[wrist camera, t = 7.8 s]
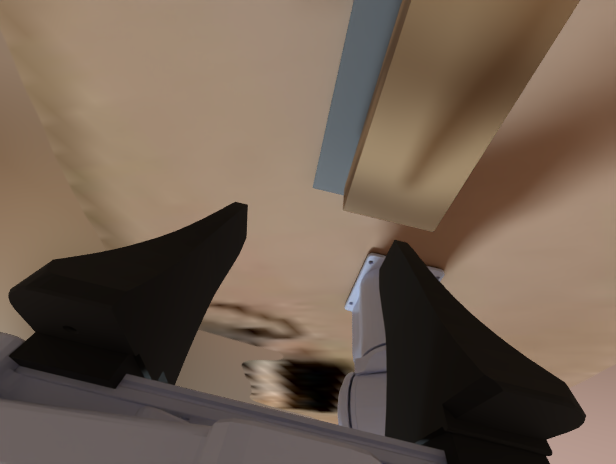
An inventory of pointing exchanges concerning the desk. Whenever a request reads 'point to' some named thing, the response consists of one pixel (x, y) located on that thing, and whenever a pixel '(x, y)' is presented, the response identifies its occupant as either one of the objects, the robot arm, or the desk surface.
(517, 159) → the desk surface
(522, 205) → the desk surface
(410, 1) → the shelf board
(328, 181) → the peg stand
